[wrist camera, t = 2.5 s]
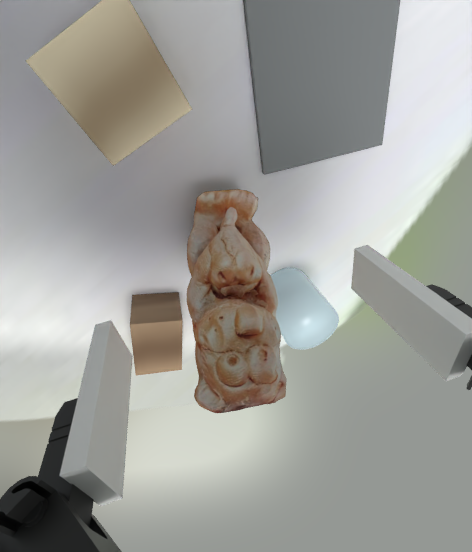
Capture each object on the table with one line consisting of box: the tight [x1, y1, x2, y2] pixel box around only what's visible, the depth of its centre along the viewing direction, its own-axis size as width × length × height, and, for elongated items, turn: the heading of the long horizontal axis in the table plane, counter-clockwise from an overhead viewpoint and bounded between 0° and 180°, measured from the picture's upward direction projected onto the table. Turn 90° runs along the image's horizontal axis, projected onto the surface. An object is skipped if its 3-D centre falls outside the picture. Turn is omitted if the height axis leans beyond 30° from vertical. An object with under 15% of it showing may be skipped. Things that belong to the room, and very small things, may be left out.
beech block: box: [26, 0, 192, 166], centre depth 15 cm, size 5×5×5 cm
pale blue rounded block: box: [271, 268, 339, 349], centre depth 27 cm, size 5×5×6 cm
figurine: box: [187, 189, 286, 413], centre depth 17 cm, size 6×8×15 cm
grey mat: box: [244, 0, 400, 175], centre depth 19 cm, size 10×10×1 cm
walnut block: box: [130, 292, 182, 375], centre depth 26 cm, size 6×4×4 cm, turn 173°
